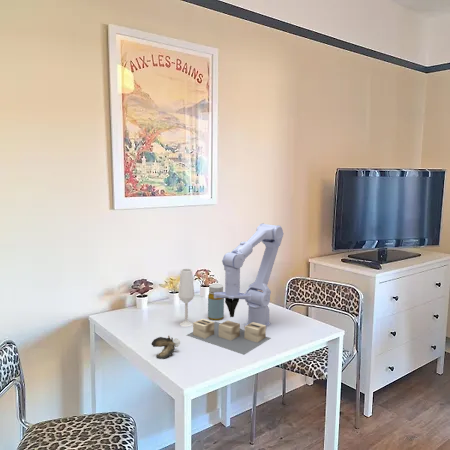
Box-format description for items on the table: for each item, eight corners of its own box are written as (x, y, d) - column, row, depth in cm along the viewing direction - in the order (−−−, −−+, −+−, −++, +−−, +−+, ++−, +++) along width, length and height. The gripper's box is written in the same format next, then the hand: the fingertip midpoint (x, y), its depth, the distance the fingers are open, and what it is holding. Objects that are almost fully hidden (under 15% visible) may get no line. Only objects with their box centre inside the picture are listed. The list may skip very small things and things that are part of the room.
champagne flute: (175, 325, 178) (175, 270, 174) (184, 320, 184) (184, 267, 180) (188, 328, 175) (188, 272, 171) (197, 323, 181) (197, 269, 177)
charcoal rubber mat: (215, 322, 182) (215, 321, 182) (271, 339, 166) (271, 338, 166) (186, 336, 167) (186, 335, 167) (244, 355, 151) (244, 354, 151)
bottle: (225, 320, 185) (226, 287, 183) (211, 322, 183) (211, 288, 181) (220, 315, 192) (220, 283, 190) (205, 316, 189) (206, 284, 187)
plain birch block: (227, 332, 171) (227, 320, 170) (239, 335, 167) (239, 323, 167) (218, 336, 166) (218, 324, 166) (230, 340, 163) (231, 328, 162)
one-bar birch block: (252, 333, 170) (253, 321, 169) (265, 337, 166) (265, 325, 165) (244, 338, 165) (244, 326, 164) (257, 342, 161) (257, 329, 161)
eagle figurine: (163, 343, 157) (146, 347, 150) (173, 329, 156) (157, 333, 148) (175, 358, 154) (159, 363, 146) (185, 344, 152) (169, 349, 144)
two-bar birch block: (202, 330, 172) (202, 318, 172) (214, 334, 169) (214, 321, 168) (193, 334, 168) (193, 322, 167) (204, 338, 164) (204, 326, 163)
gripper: (212, 284, 162) (212, 318, 164) (250, 286, 160) (249, 321, 162) (215, 280, 169) (215, 312, 170) (251, 281, 167) (250, 314, 168)
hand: (232, 316), depth 166 cm, fingers closed
